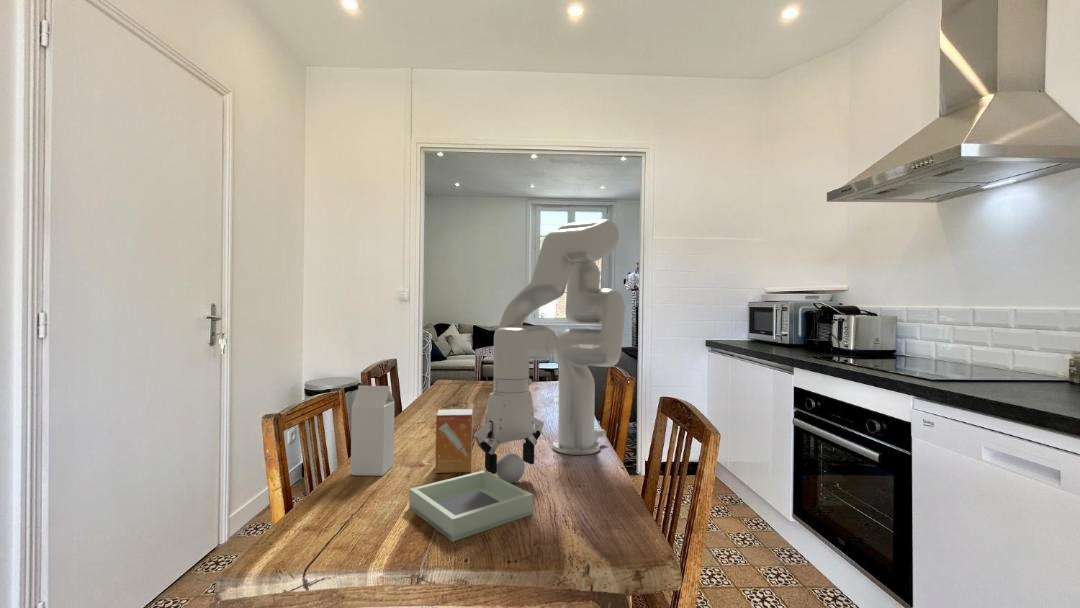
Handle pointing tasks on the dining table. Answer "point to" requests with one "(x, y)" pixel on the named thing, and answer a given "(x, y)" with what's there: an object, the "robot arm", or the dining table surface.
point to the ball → (510, 468)
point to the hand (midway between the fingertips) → (510, 467)
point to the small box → (453, 441)
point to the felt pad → (467, 502)
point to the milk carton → (372, 431)
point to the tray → (459, 526)
